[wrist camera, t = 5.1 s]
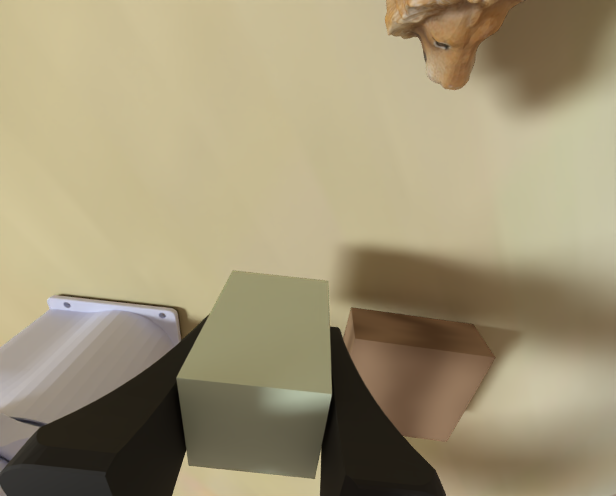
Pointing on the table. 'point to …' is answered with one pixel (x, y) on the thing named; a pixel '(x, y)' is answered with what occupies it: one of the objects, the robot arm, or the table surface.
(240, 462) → the sage block
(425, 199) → the table surface
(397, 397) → the walnut block
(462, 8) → the lion figurine
